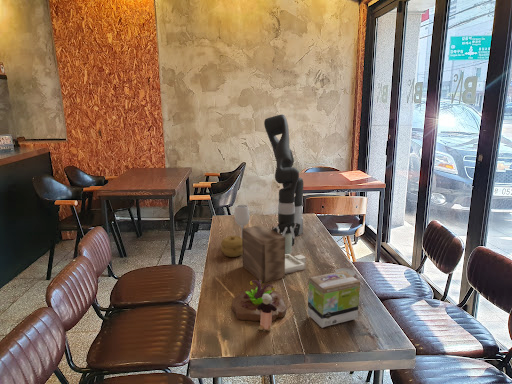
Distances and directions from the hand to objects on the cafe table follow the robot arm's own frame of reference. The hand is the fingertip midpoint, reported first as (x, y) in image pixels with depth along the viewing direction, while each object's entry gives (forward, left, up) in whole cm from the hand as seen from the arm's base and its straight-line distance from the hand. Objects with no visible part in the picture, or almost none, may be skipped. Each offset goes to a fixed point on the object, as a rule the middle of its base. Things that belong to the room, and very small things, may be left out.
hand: (286, 246), depth 173 cm
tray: (0, 0, -10) cm, 10 cm away
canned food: (-4, +36, -10) cm, 38 cm away
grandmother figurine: (+32, +39, -10) cm, 51 cm away
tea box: (+8, +44, -10) cm, 46 cm away
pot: (+16, -24, -10) cm, 31 cm away
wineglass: (+5, -36, -10) cm, 38 cm away
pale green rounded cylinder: (0, 0, -3) cm, 3 cm away
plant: (+28, +25, -10) cm, 39 cm away
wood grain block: (+12, 0, -10) cm, 15 cm away
